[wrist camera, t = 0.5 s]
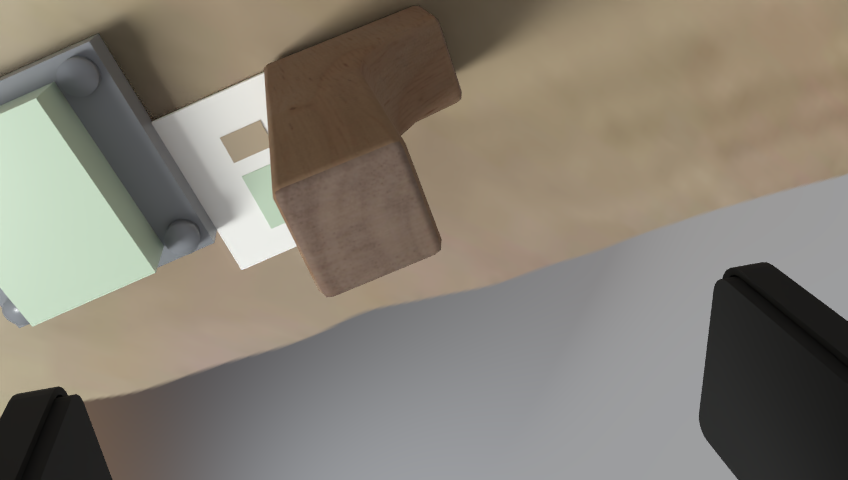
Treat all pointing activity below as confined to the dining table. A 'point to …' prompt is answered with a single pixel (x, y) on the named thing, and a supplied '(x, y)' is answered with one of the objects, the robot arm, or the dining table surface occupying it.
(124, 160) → the baseplate
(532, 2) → the dining table surface
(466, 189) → the dining table surface
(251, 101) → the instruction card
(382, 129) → the wooden block
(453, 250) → the dining table surface
